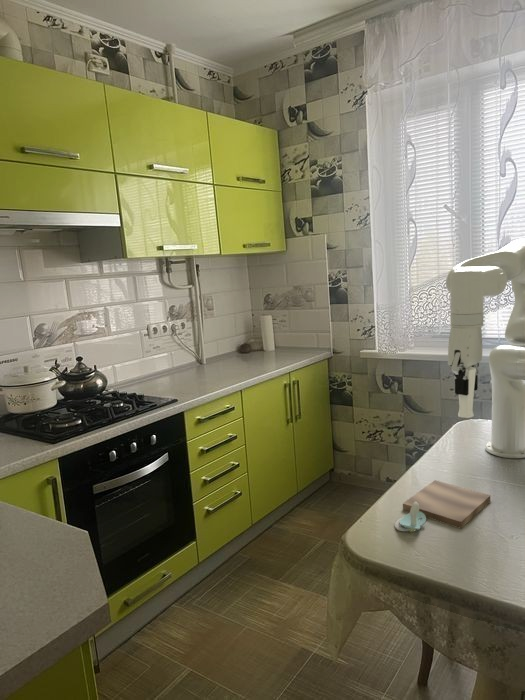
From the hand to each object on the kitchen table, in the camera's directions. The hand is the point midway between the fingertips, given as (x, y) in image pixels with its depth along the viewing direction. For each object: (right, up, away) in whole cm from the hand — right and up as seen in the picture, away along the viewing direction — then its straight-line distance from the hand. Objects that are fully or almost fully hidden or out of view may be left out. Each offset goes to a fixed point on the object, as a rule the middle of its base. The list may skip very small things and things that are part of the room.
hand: (466, 391), depth 129 cm
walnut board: (-8, -26, -7) cm, 28 cm away
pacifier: (-19, -29, -16) cm, 38 cm away
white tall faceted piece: (0, -6, +1) cm, 7 cm away
